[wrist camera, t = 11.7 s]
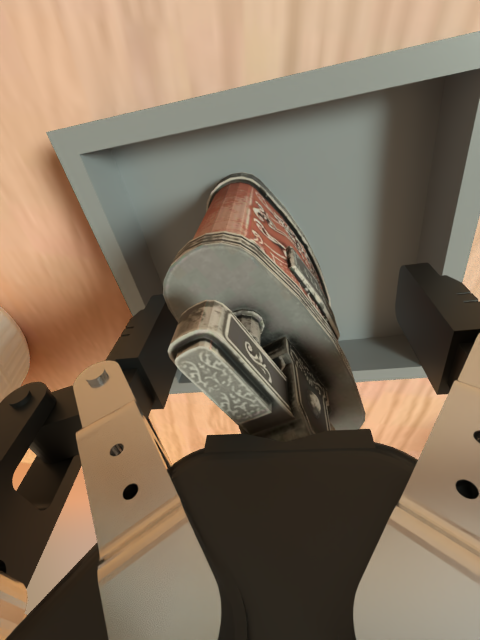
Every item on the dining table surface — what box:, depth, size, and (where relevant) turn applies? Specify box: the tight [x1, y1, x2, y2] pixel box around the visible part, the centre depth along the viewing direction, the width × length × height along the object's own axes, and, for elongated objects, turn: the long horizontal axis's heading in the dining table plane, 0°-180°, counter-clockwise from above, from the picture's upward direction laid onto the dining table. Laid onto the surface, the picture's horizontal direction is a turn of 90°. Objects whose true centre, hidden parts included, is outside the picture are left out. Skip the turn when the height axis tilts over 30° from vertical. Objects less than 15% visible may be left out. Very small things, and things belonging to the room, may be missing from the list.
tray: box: [46, 31, 480, 394], centre depth 14 cm, size 14×13×3 cm
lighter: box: [163, 172, 365, 442], centre depth 11 cm, size 8×3×10 cm, turn 35°
